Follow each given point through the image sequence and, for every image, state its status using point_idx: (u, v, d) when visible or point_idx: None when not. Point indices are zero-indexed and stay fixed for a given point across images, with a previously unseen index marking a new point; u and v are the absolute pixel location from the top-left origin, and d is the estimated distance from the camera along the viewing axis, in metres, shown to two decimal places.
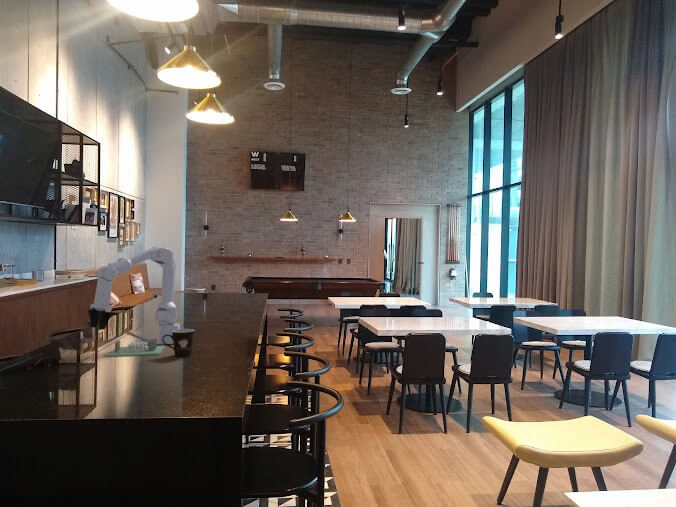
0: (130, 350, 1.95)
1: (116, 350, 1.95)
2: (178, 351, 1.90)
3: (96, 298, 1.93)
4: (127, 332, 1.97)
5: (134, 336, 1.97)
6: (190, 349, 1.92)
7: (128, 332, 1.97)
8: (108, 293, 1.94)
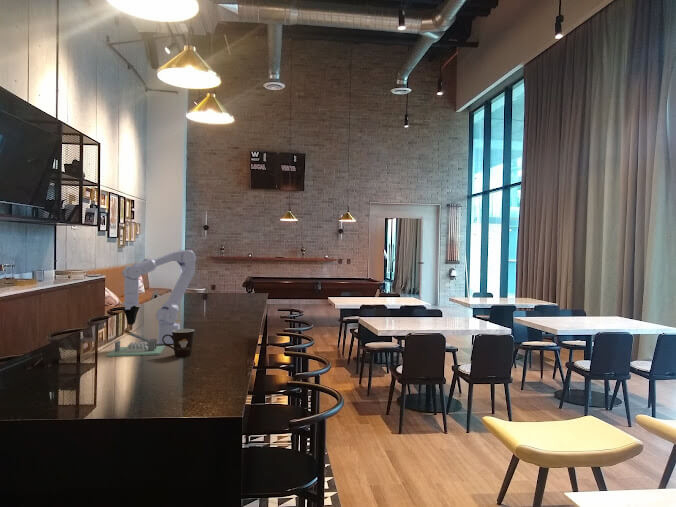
0: (130, 350, 1.95)
1: (116, 350, 1.95)
2: (178, 351, 1.90)
3: (124, 296, 2.06)
4: (127, 332, 1.97)
5: (134, 336, 1.97)
6: (190, 349, 1.92)
7: (128, 332, 1.97)
8: (135, 291, 2.06)
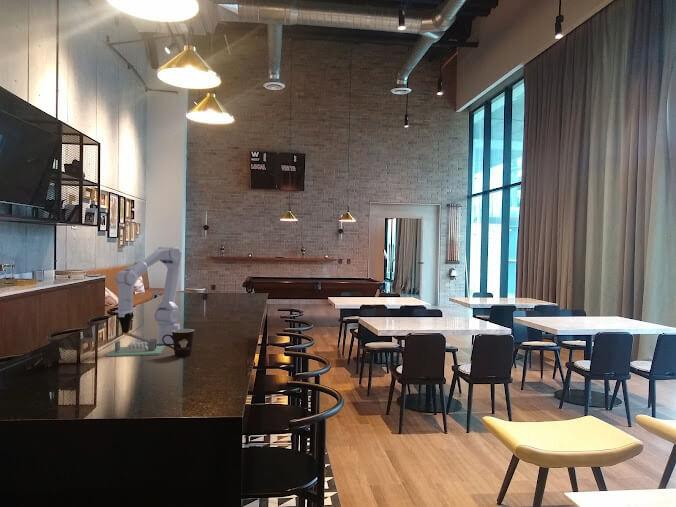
0: (130, 350, 1.95)
1: (116, 350, 1.95)
2: (178, 351, 1.90)
3: (118, 303, 1.96)
4: (126, 333, 1.97)
5: (134, 337, 1.97)
6: (190, 349, 1.92)
7: (127, 333, 1.97)
8: (132, 297, 1.97)
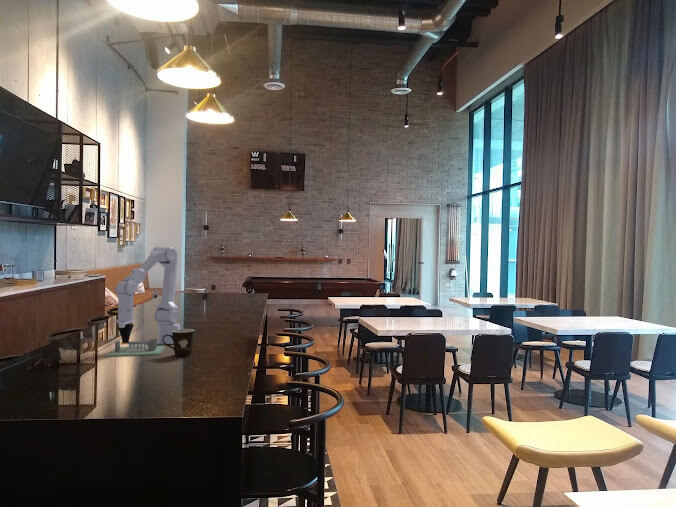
0: (130, 350, 1.95)
1: (116, 350, 1.95)
2: (178, 351, 1.90)
3: (118, 313, 1.96)
4: (124, 342, 1.97)
5: (132, 343, 1.97)
6: (190, 349, 1.92)
7: (125, 342, 1.97)
8: (132, 307, 1.97)
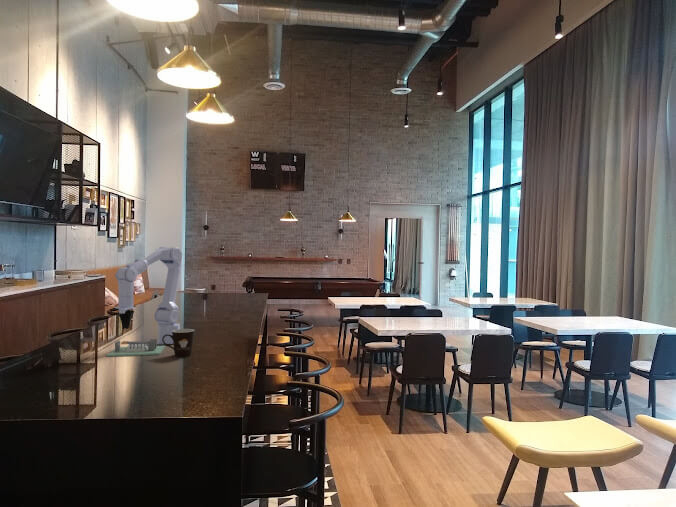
0: (130, 350, 1.95)
1: (116, 350, 1.95)
2: (178, 351, 1.90)
3: None
4: (124, 342, 1.97)
5: (132, 343, 1.97)
6: (190, 349, 1.92)
7: (125, 342, 1.97)
8: (132, 293, 1.97)
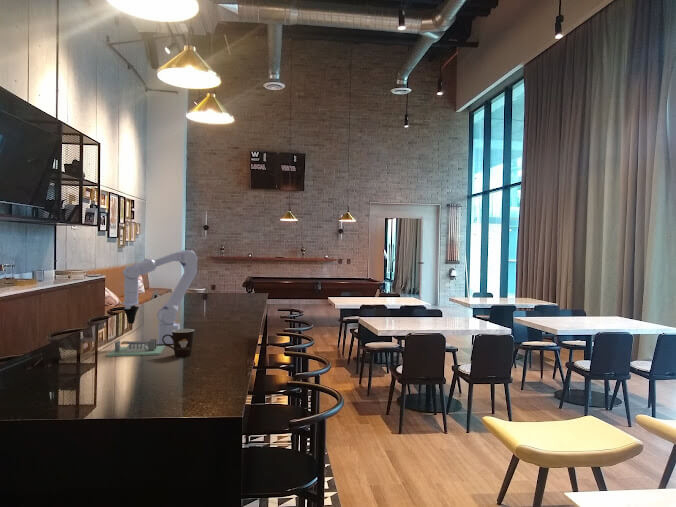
0: (130, 350, 1.95)
1: (116, 350, 1.95)
2: (178, 351, 1.90)
3: (124, 296, 2.08)
4: (124, 342, 1.97)
5: (132, 343, 1.97)
6: (190, 349, 1.92)
7: (125, 342, 1.97)
8: (134, 290, 2.07)
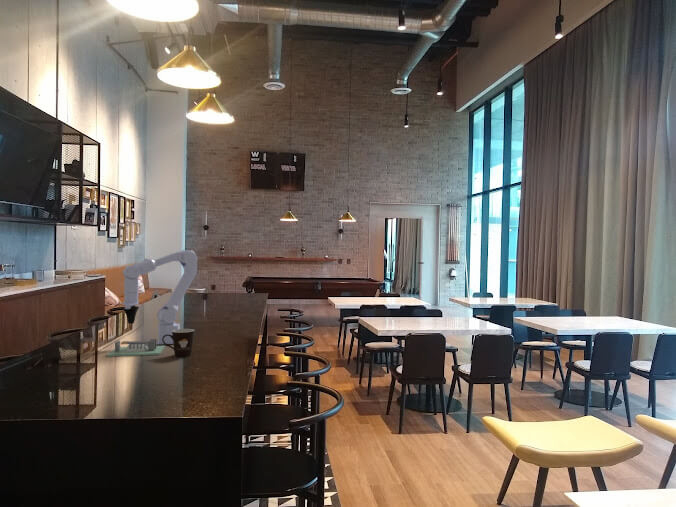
0: (130, 350, 1.95)
1: (116, 350, 1.95)
2: (178, 351, 1.90)
3: (124, 296, 2.08)
4: (124, 342, 1.97)
5: (132, 343, 1.97)
6: (190, 349, 1.92)
7: (125, 342, 1.97)
8: (134, 290, 2.07)
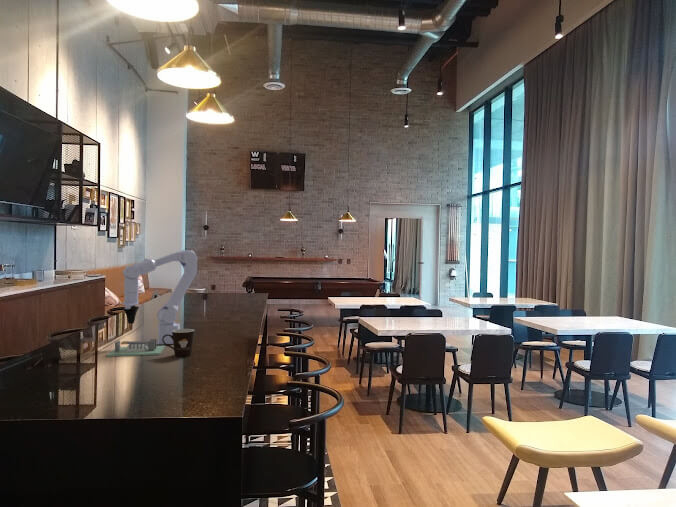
0: (130, 350, 1.95)
1: (116, 350, 1.95)
2: (178, 351, 1.90)
3: (124, 296, 2.08)
4: (124, 342, 1.97)
5: (132, 343, 1.97)
6: (190, 349, 1.92)
7: (125, 342, 1.97)
8: (134, 290, 2.07)
